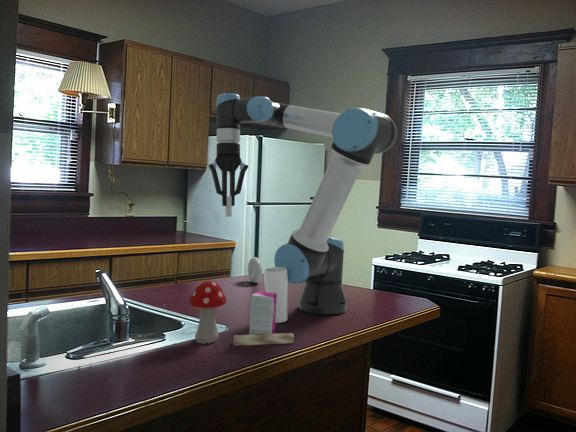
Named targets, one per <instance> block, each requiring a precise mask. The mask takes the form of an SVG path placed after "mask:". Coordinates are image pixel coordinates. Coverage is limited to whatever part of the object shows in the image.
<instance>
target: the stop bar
mask: <svg viewBox="0 0 576 432" xmlns="http://www.w3.org/2000/svg"><path fill="white" fill-rule="evenodd" d="M232 339H233V340H232V341H233V342H232V343H233V345H234V347H237V346H255V345H260V346H261V345H277V344H278V345H279V344H281V345H282V344H294V343H295V342H294V341H295V334H293V332H289V333H288V332H285V333H284V332H283V333H281V332H279V333H274V334H254V335H249V334H237V335H236V334H235V335H234V334H233V337H232Z"/></svg>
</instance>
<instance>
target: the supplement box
mask: <svg viewBox="0 0 576 432" xmlns="http://www.w3.org/2000/svg"><path fill="white" fill-rule="evenodd" d="M250 297H251V299H250V316H249V331H248V332H249V333H248V335H254V334H276V333H275V331H276V323H275V316H276V299H277V293H268V292H264V291H255V292H254V293H253V294H252V295H251V296H250Z"/></svg>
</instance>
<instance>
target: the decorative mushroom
mask: <svg viewBox="0 0 576 432" xmlns="http://www.w3.org/2000/svg"><path fill="white" fill-rule="evenodd" d="M226 303H227V297H226V294H225V293H224V291H223V289H222V287H221V285H220V284H219V283H217V282H216V281H213V280H205V281H202V282H201V283H198V285H197V286H196V287H195V289H194V290H193V292H192V294H191V295H190V298H189V305H190V306H191V307H194V308H197V309H199V321H198V326H197V330H196V333H195V334H194V338H195V341H196V343H197V344H202V345H203V344H205V345H206V343H208V344H212V342H213V343H216V342H217V341H218V340H219V336H220V333H219V330H218V328H217V321H216V319H217V318H216V308H219V307H221V306H224V305H225V304H226ZM215 341H216V342H215Z"/></svg>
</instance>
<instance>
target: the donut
mask: <svg viewBox="0 0 576 432" xmlns="http://www.w3.org/2000/svg"><path fill="white" fill-rule="evenodd" d="M247 274H248V279H249V280H250V282H252V283H253V284H257V283H259V282H260V281H261V279H262V276H263V266H262V261H261V259H259V258H258V257H256V256H254V257H253V256H252V257H251V258H250V259H249V260H248V263H247Z"/></svg>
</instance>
